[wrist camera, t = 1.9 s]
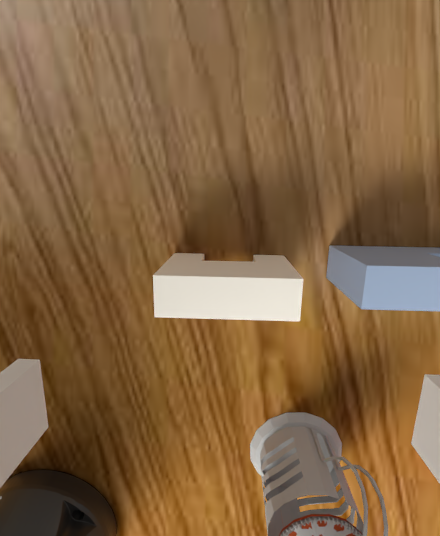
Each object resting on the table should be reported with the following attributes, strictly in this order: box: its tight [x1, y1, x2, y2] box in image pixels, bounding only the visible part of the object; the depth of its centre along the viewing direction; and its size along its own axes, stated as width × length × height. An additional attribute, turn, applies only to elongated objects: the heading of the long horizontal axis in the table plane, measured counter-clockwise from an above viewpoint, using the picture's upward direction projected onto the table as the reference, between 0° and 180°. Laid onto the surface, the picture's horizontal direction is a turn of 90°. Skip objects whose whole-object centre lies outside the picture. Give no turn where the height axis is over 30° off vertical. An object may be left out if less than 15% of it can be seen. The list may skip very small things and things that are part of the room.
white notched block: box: [153, 253, 303, 321], centre depth 25 cm, size 10×3×8 cm, turn 89°
